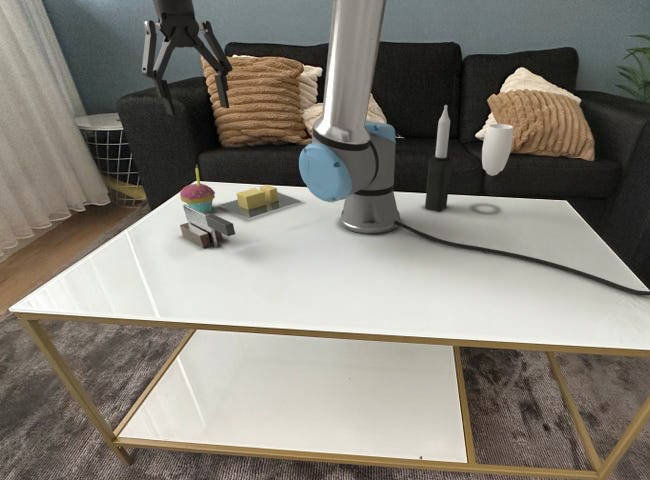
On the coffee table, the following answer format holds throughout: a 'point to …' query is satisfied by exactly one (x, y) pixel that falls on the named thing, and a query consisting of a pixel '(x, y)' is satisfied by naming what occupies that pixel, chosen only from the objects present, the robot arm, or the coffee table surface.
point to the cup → (496, 147)
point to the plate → (281, 202)
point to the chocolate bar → (198, 235)
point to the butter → (251, 198)
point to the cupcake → (198, 195)
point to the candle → (439, 168)
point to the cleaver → (209, 223)
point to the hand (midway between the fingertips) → (199, 111)
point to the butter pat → (270, 193)
